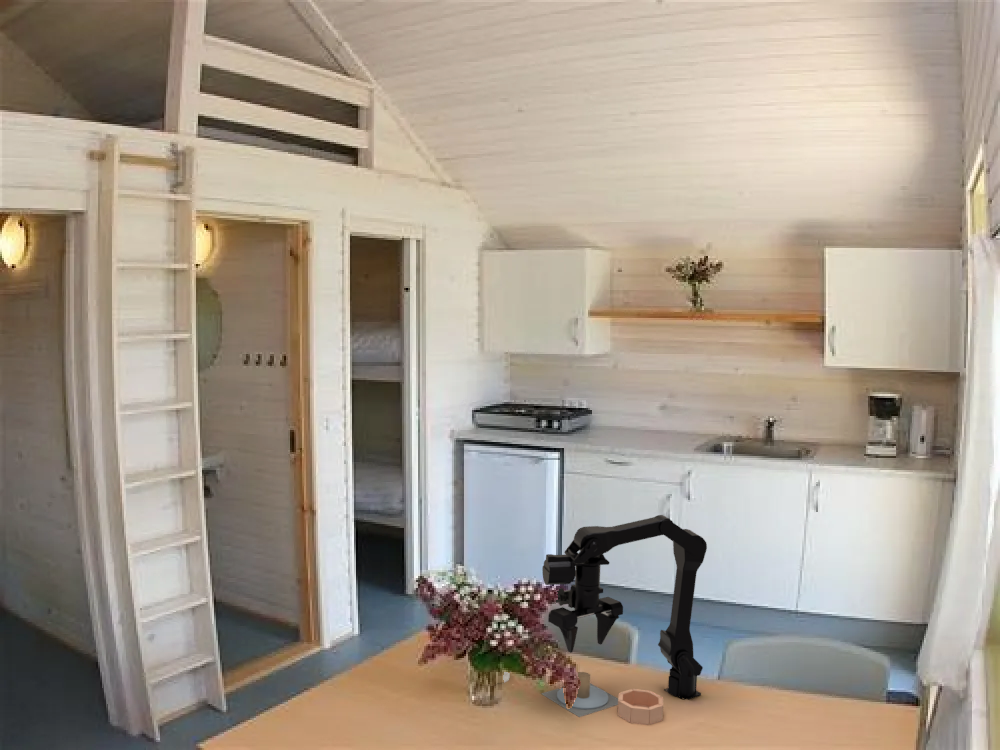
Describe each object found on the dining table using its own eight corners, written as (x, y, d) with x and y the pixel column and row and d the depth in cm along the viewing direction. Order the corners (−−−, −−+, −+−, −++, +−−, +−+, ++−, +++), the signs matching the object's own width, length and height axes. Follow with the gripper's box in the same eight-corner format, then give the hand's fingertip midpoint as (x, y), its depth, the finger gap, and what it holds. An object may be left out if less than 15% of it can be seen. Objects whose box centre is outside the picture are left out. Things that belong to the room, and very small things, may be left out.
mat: (585, 682, 217) (585, 680, 217) (624, 704, 206) (625, 702, 206) (540, 695, 209) (540, 693, 209) (579, 719, 198) (579, 716, 198)
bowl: (640, 702, 207) (641, 685, 207) (671, 719, 199) (672, 702, 199) (608, 712, 201) (609, 695, 201) (639, 730, 193) (640, 712, 193)
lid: (585, 682, 216) (586, 660, 215) (619, 701, 206) (619, 678, 205) (546, 694, 209) (547, 671, 208) (579, 714, 199) (580, 690, 199)
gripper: (593, 567, 217) (591, 629, 218) (534, 579, 206) (532, 644, 207) (625, 579, 208) (623, 644, 209) (565, 593, 197) (563, 661, 198)
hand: (585, 647), depth 206 cm, fingers open, 9 cm apart
